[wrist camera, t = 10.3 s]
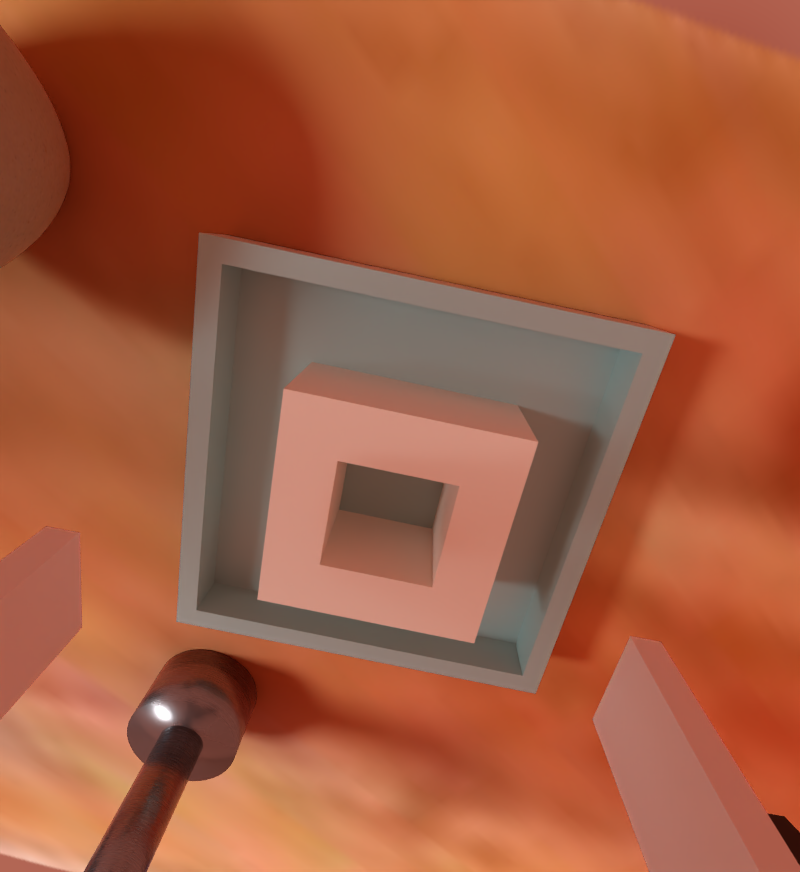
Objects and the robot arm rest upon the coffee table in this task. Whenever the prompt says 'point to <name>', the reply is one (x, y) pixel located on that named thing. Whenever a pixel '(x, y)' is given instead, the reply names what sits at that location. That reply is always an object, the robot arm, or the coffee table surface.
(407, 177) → the coffee table surface
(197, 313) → the tray
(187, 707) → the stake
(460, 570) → the ring
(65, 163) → the flower pot
